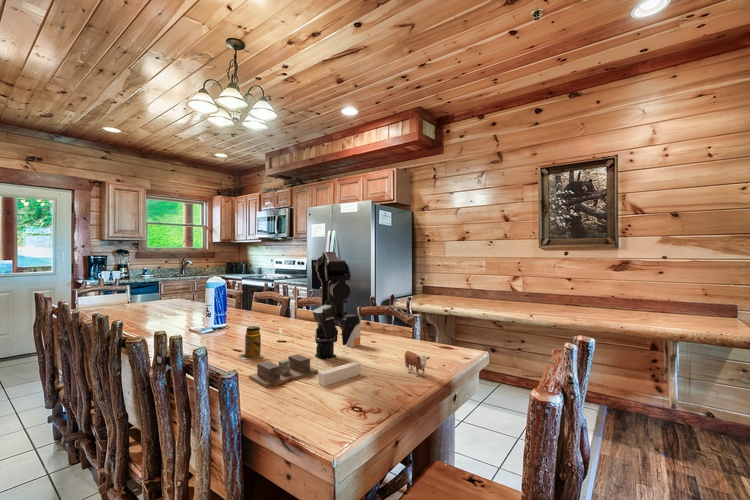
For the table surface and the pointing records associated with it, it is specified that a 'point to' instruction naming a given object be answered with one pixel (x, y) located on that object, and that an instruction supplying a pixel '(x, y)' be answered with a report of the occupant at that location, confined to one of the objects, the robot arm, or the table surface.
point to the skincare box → (354, 336)
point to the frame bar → (338, 373)
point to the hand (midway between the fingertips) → (335, 342)
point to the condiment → (252, 343)
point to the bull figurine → (415, 362)
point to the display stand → (282, 371)
